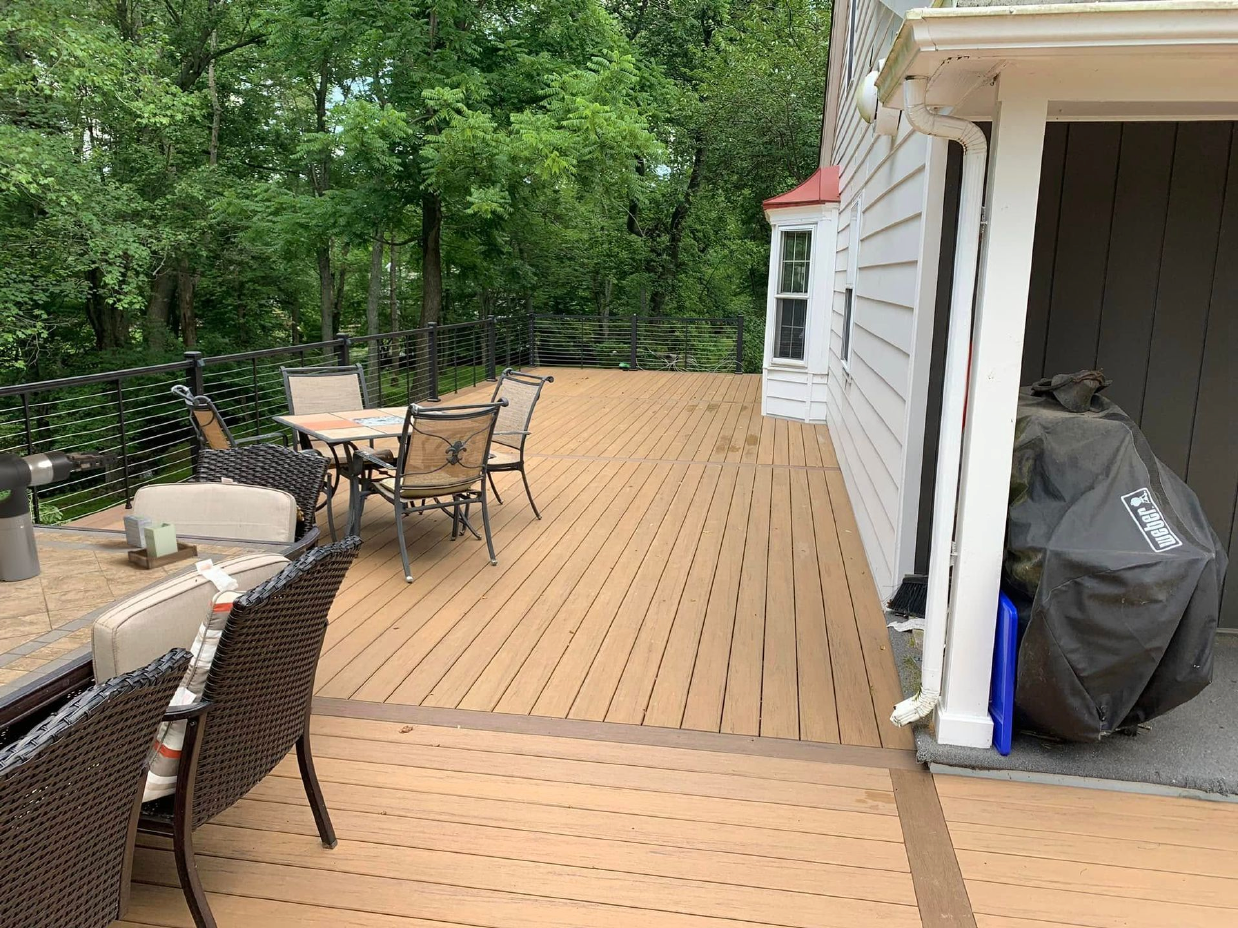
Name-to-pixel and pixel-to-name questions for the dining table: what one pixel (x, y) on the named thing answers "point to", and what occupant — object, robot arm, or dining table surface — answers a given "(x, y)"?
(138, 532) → the medicine box
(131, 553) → the walnut crate
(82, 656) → the dining table surface
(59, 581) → the dining table surface
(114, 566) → the dining table surface
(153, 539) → the small square vase
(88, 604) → the dining table surface
